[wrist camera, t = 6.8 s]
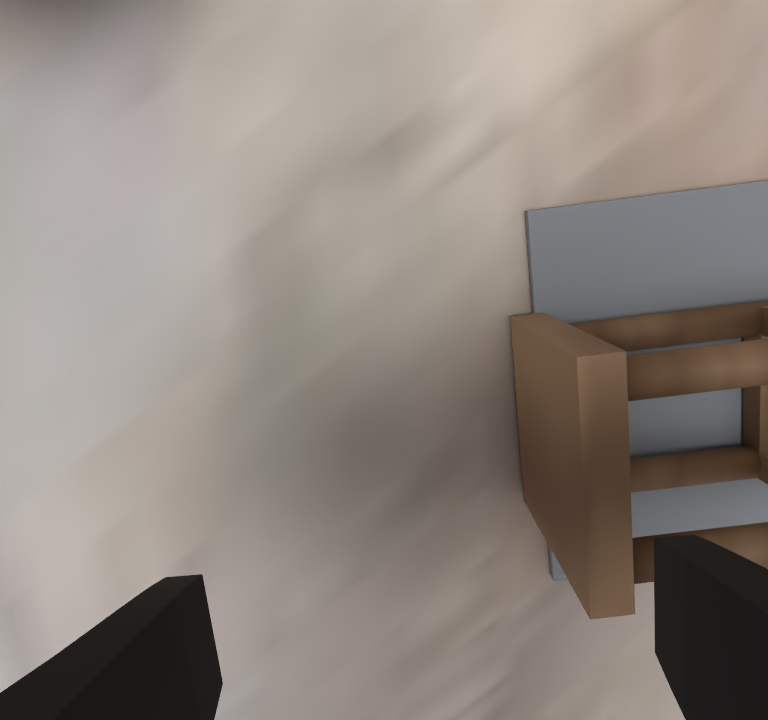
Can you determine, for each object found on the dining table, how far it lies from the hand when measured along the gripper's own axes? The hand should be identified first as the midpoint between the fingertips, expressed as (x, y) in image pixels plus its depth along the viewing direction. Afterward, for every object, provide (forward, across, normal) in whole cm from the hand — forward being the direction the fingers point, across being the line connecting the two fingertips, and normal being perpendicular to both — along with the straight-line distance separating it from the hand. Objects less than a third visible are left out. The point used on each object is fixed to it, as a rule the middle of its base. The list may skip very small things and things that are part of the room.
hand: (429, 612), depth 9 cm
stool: (+6, -3, 0) cm, 7 cm away
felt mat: (+10, -8, 0) cm, 13 cm away
